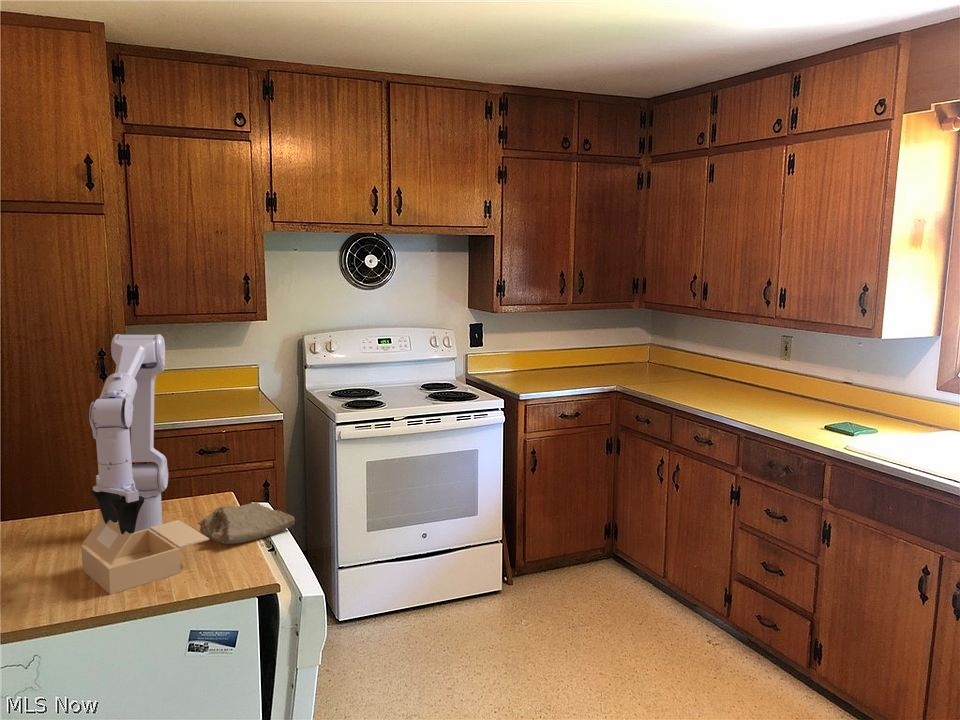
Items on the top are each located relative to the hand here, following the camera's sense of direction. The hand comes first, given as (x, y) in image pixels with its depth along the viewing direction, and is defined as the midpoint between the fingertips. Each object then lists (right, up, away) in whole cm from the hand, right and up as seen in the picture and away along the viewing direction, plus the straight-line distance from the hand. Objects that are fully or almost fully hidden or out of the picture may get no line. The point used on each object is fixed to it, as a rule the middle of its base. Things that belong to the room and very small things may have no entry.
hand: (119, 528), depth 141 cm
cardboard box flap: (-2, -2, -1) cm, 3 cm away
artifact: (+16, -7, +24) cm, 29 cm away
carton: (+3, -9, +5) cm, 11 cm away
